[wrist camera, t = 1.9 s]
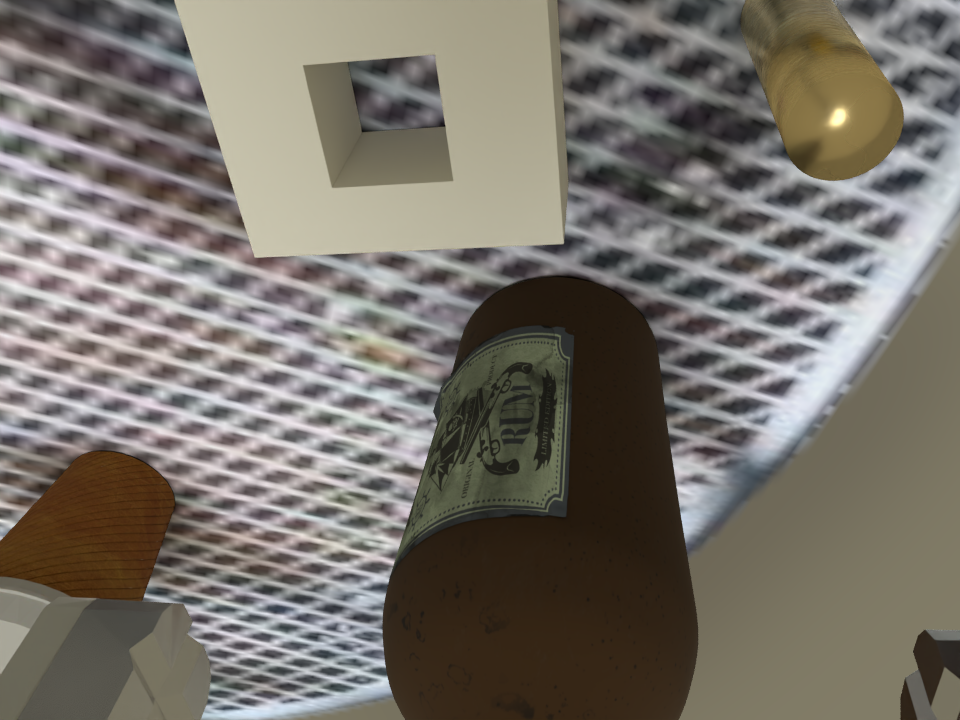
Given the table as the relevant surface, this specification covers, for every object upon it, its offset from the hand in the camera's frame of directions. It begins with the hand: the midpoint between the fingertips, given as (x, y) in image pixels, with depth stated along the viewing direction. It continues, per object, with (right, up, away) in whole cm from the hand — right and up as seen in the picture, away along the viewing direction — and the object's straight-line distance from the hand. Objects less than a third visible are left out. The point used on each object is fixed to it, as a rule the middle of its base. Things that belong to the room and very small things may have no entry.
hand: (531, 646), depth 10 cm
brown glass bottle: (+3, +3, +32) cm, 32 cm away
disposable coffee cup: (-21, -4, +42) cm, 47 cm away
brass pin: (+10, +15, +21) cm, 28 cm away
